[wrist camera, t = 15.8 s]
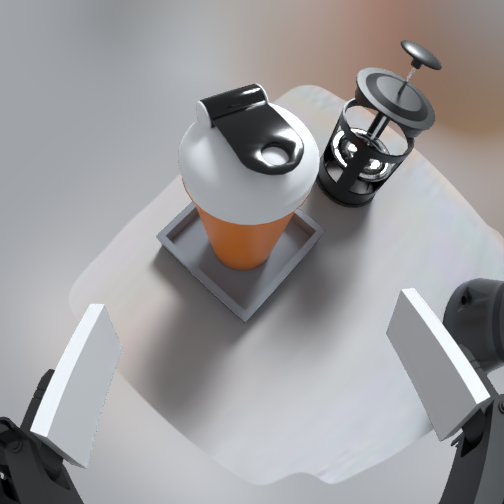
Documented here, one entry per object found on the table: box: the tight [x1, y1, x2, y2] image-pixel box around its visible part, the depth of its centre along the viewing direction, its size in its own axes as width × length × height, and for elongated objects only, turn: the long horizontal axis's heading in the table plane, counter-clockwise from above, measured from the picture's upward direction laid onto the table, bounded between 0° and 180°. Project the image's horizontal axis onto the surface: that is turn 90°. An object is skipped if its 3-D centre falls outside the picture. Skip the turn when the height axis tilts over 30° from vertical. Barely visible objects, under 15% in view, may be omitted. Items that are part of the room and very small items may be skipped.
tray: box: [156, 201, 325, 323], centre depth 32 cm, size 14×14×3 cm
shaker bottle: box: [178, 84, 320, 270], centre depth 23 cm, size 9×9×20 cm
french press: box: [316, 40, 442, 208], centre depth 27 cm, size 12×9×23 cm
